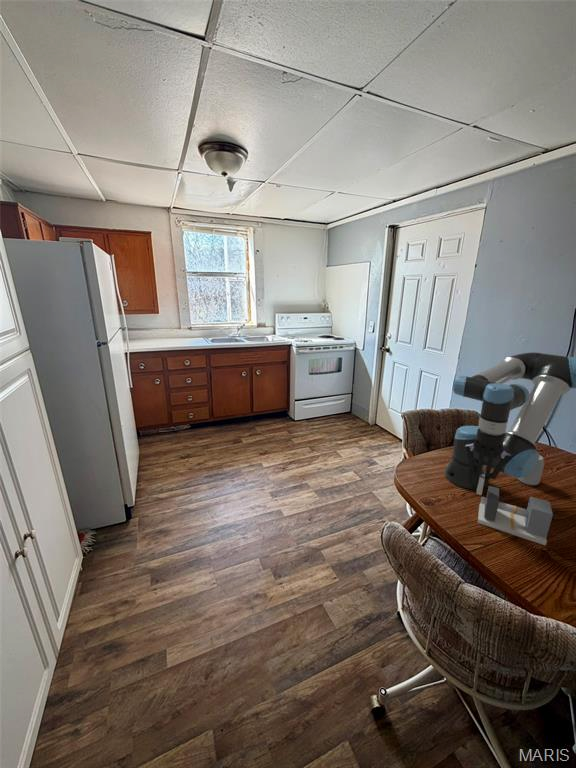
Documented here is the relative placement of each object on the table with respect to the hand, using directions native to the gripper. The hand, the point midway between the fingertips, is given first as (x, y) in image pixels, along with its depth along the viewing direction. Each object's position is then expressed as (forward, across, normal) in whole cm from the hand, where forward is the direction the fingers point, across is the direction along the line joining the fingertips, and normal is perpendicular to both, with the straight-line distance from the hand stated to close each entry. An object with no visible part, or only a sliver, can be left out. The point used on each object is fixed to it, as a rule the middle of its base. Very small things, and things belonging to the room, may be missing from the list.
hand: (479, 492), depth 105 cm
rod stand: (+9, +10, 0) cm, 13 cm away
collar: (+7, +4, 0) cm, 8 cm away
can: (+9, +17, +34) cm, 39 cm away
